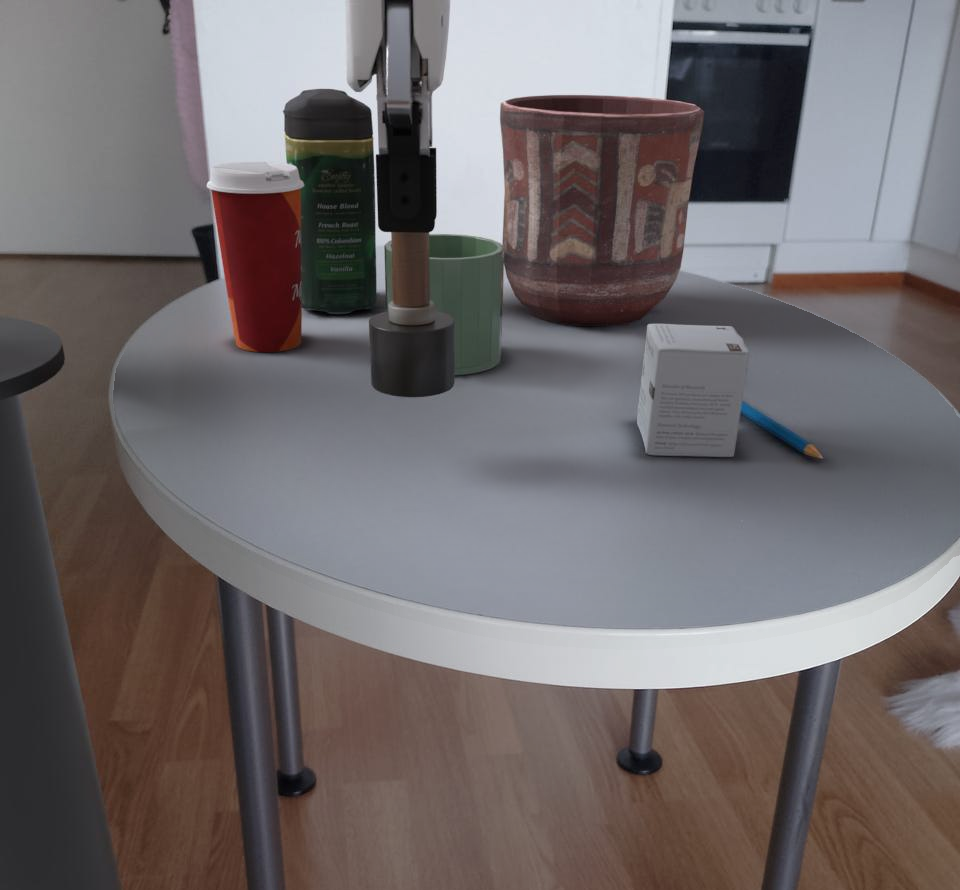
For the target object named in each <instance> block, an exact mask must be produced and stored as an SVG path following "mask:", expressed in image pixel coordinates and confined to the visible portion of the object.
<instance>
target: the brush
mask: <svg viewBox="0 0 960 890" xmlns="http://www.w3.org/2000/svg"><path fill="white" fill-rule="evenodd" d="M429 234H430V232H429V233H416V232H390V236H391V240H392V276H393V301H390V302H389V304H388V311H387V312H386V311H382V312H379V313H377V314H373V316H372V315H371V317H370V318H369V320H368V332H369V333H368V334H369V336H368V337H369V360H370V362H369V363H370V384H371V386H372V388H373V389H374V390H375V391H377V392H379V393H381V394H384V395H387V396H391V397H400V398H426V397H433V396H437V395H441V394H445V393H446V392H449V391H451V390H452V389H453V388H454V386H455V376H456V375H455V321H454V319H453V318H452V317H451V316H449V315H447V314H445V313H441V312H437V311H435V304H434V302H433V301H431V300H430V271H429Z"/></svg>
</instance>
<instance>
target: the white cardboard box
mask: <svg viewBox="0 0 960 890" xmlns="http://www.w3.org/2000/svg"><path fill="white" fill-rule="evenodd" d="M645 336H646V337H645V346H644V355H643V362H642V371H641V380H640V389H639V397H638V398H639V399H638V407H637V417H636V424H637V427H638V429H639V432H640V435H641V438H642V441H643V445H644V451H645V454H647V455H649V456H657V457H658V456H660V457H703V458H705V457H706V458H712V457H713V458H733V457H734V456H735V453H736V444H737V438H738V432H739V425H740V420H741V419H740V418H741V407H742V401H744V400H743V399H744V393H745V387H746V381H747V373H748V367H749V361H750V355H751V353H750V351H749V349H748V348H747V346H746V344H745V342H744V339H743V337H742V336H741V335H740V334H739V333H738V332H737V330H736V329H735V328H734V326H731V325H697V324H694V325H693V324H677V323H676V324H675V323H648V324H647V326H646V335H645Z"/></svg>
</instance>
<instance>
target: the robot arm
mask: <svg viewBox="0 0 960 890" xmlns="http://www.w3.org/2000/svg"><path fill="white" fill-rule="evenodd" d="M450 12H451V0H345V25H346V26H345V33H346V34H345V36H346V39H345V40H346V82H347V85H348V87H350V89H352V91H354V93H362V92H363V91H364V90H365V89H366V88H368V86H369V85H370V84H371V83H372V81H373V77H374V75H375V76H376V109H377V113H376V114H377V140H378V141H377V144H378V145H377V146H378V153H376V154H375V176H376V177H375V179H376V202H377V203H376V204H377V205H376V206H377V207H376V208H377V227H378V229H379V230H380V231H381V232H383V233H391V232H416V233H429V234H430V233H431V232H433V231H434V229H435V227H436V226H435V225H436V219H437V215H438V214H437V212H438V211H437V210H438V209H437V207H438V205H437V204H438V202H437V201H438V199H437V197H438V196H437V194H438V193H437V147H433V93H434V92H435V91H436V90H437V89H438V88H439V87H441V85H442V84H443V80H444V76H445V75H444V74H445V68H446V61H447V52H448V41H449V33H450V32H449V29H450V16H451V15H450V14H451V13H450Z"/></svg>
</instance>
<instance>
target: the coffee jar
mask: <svg viewBox="0 0 960 890" xmlns="http://www.w3.org/2000/svg"><path fill="white" fill-rule="evenodd" d="M282 113H283V116H284V119H283V121H284V124H283V125H284V126H283V127H284V128H283V131H284V141H285V143H284V145H285V159H286V164H290V165H294V166H296V167H297V169H298V172H299V177H300V180H302V181H303V183H304V187H302V188H300V189H301V286H302V310H303V309H304V310H305V311H318V312H326V314H329V315H347V314H350V313H353V312H355V311H361V310H369V309H372V308H373V307H374V306H375V304H376V302H377V246H376V245H377V244H376V239H377V237H376V227H377V226H376V225H377V224H376V181H375V179H376V177H375V176H376V174H375V150H374V136H373V135H374V129H373V128H374V127H373V116H372V115H373V114H372V109H371V108H370V107H369V106H368V105H367V104H365V103H364V102H362V101H360V100H358V99H356V98H354V97H352V96H350V95H348V93H347V92H346V91H344V90H339V89H333V88H314V89H313V88H312V89H306V90H302V91H301V92H300V93H299V94H298V95H297V96H295V97H292V98H291V99H289V100H288V101H287V102H286V103H285V105H284V110H282Z"/></svg>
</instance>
